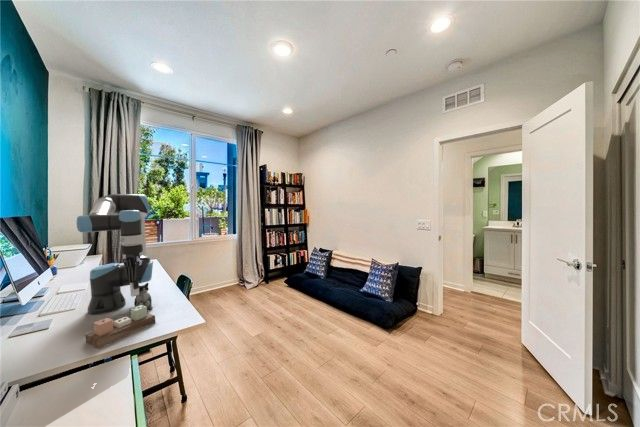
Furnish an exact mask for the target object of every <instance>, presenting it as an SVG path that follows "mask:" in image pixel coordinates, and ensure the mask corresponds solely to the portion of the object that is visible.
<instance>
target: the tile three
mask: <svg viewBox="0 0 640 427" xmlns="http://www.w3.org/2000/svg"><path fill="white" fill-rule="evenodd" d="M131 308H132V309H129V311H130V310H131V311H130V316H131V319H132V320H135V321H137V320H140V319H142V318H144V317H147V313H148V310H147V307H146V306H143V305H140V306H137V307H135V306H134V307H131Z"/></svg>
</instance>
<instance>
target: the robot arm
mask: <svg viewBox="0 0 640 427" xmlns="http://www.w3.org/2000/svg"><path fill="white" fill-rule="evenodd" d="M150 212H151V209H150V202H149V199H148V196H147V195H145V194H141V193H140V194H139V193H127V194H126V193H114V194H107V195H104V196H102V197H99V198H98V199H96V200H95V201H93V204H92V209H91V210H90V212H89V213H88V215H87V214H84V215H79V216H77V217H76V229H77V232H79V233H97V232H108V231H109V232H110V231H119V232H120V234H119V236H120V238H119V241H120V245H121V247H120V248H121V249H120V251H121V255H125V257H124V258H122V259H121V261H122V263H123V264H121V265H120V263H119V262H112V263H107V264H103V265H100V266H99V265H98V266H96V267H94V268H92V269H91V270H90V272H89V284H90V285H89V286H90V296H91V297H90V301H89V303H88V305H87V314H88V315H91V316H92V315H95V316H97V315H103V314H107V313H111V312H112V313H113V312H115V311H117V310H119V309H121V308H123V307H125V305H126V298H125V296H124V295H123V293H122V290H121V289H122V288H121V287H126V286H129V287H130V288H129V289H130V297H132V298H133V297H136V296H137V295H139V286H140V284H143V283H149V282H150V281H152V276H153V270H154V269H153V267H154V261H153V260H151V259H150V257H148V255H147V239H146V223H145V222H146V221H145V220H146V219H145V218H146V217H147V216H148V214H149V213H150Z"/></svg>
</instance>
